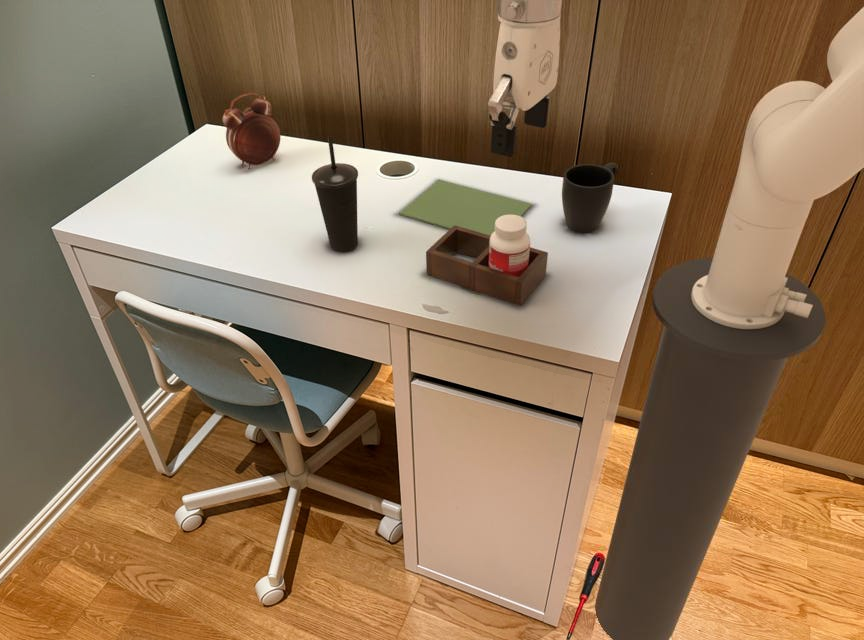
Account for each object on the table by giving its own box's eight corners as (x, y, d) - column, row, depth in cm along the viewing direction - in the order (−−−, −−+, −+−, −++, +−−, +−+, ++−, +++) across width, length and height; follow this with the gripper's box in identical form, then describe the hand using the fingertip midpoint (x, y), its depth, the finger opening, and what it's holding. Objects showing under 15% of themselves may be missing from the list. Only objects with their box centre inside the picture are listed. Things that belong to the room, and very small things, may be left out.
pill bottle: (482, 275, 116) (484, 216, 108) (518, 267, 117) (522, 208, 109) (496, 297, 111) (498, 237, 104) (533, 289, 112) (538, 228, 105)
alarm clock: (275, 152, 155) (262, 83, 144) (286, 159, 151) (273, 89, 141) (230, 168, 150) (213, 98, 140) (240, 176, 147) (224, 105, 137)
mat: (532, 205, 131) (532, 203, 130) (495, 243, 122) (495, 241, 122) (438, 181, 140) (438, 179, 139) (399, 214, 132) (399, 212, 131)
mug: (629, 215, 126) (638, 166, 119) (586, 243, 120) (594, 193, 114) (591, 199, 131) (597, 151, 124) (548, 225, 125) (553, 176, 119)
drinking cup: (349, 228, 129) (336, 122, 116) (374, 245, 125) (363, 137, 111) (314, 244, 126) (296, 137, 113) (338, 262, 122) (322, 153, 108)
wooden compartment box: (545, 275, 114) (548, 252, 111) (520, 305, 109) (521, 282, 106) (454, 247, 122) (454, 224, 119) (426, 274, 117) (425, 251, 114)
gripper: (526, 31, 79) (515, 173, 90) (588, -12, 89) (571, 120, 100) (466, 22, 82) (463, 159, 94) (533, -19, 92) (522, 110, 104)
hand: (519, 139), depth 97 cm, fingers open, 9 cm apart
